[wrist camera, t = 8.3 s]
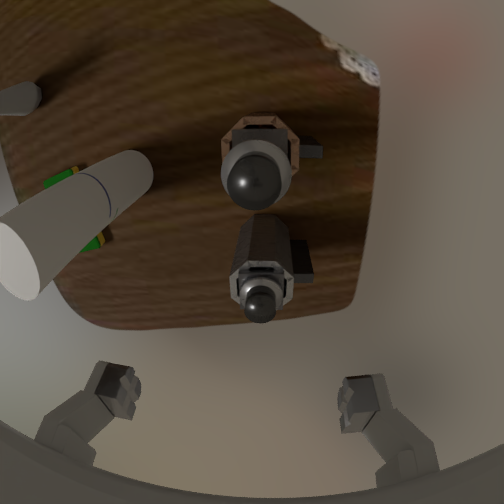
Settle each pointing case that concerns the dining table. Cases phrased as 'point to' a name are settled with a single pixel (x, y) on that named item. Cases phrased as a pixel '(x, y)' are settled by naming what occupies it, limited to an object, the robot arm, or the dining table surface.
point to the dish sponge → (99, 238)
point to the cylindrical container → (66, 220)
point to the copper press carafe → (272, 137)
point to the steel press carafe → (269, 256)
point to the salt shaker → (20, 99)
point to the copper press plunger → (256, 174)
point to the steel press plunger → (261, 298)
